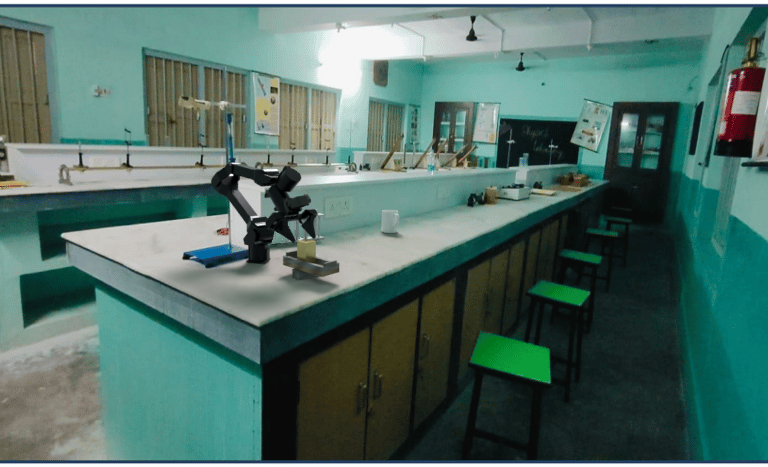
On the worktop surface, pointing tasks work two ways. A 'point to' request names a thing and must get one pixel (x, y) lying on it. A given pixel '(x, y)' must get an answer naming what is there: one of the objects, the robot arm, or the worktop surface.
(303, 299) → the worktop surface
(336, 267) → the grey open tray
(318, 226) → the test tube rack
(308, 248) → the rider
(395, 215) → the mug
